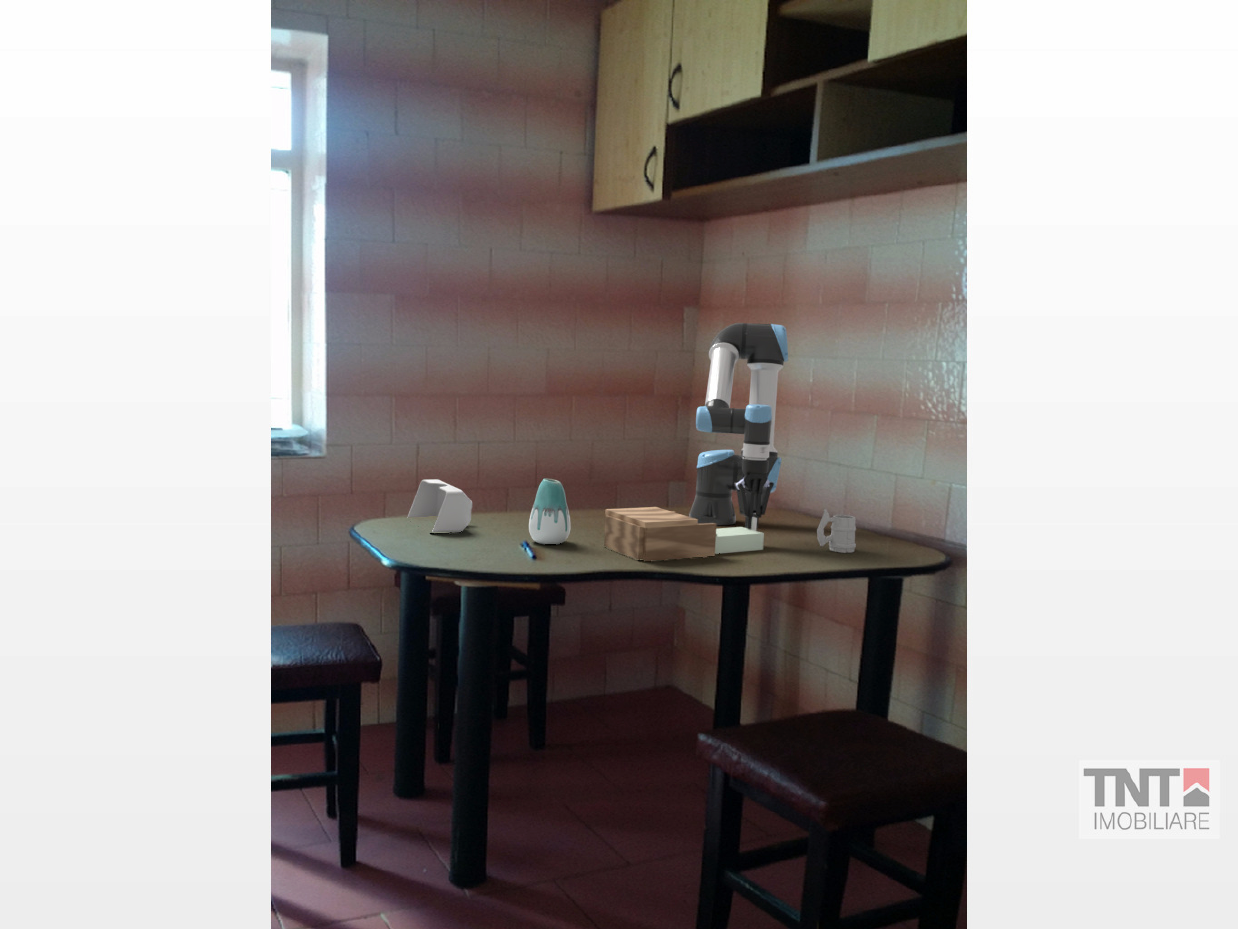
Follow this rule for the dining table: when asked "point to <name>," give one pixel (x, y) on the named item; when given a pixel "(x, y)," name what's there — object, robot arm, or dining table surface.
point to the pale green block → (738, 540)
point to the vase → (550, 514)
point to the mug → (838, 532)
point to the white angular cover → (442, 505)
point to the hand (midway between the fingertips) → (750, 539)
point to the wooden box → (657, 534)
